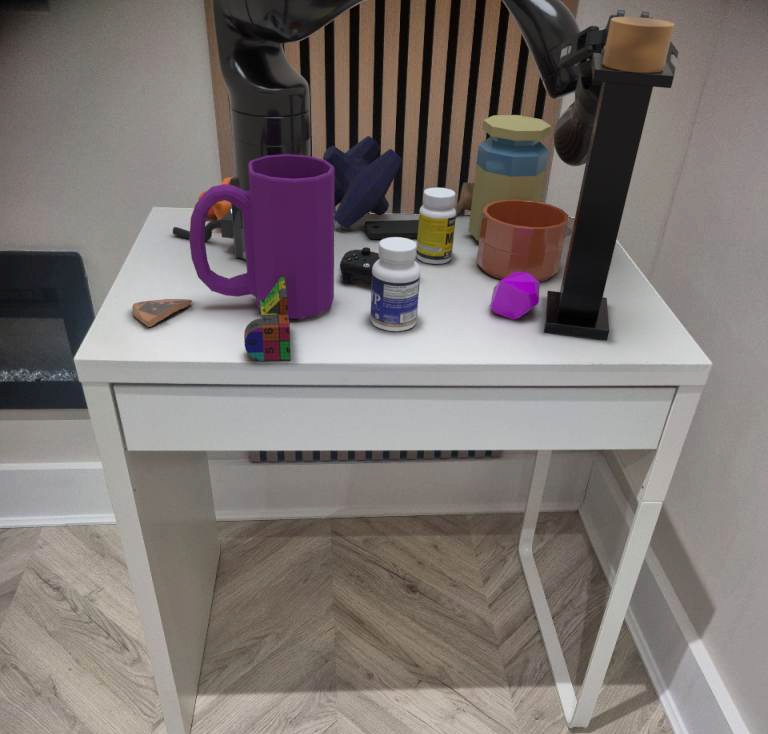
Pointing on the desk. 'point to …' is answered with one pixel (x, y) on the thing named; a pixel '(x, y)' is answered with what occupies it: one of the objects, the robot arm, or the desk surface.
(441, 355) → the desk surface
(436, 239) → the supplement bottle
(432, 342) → the desk surface
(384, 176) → the tetrapod
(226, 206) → the orange fox figurine
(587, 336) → the shelf stand
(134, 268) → the desk surface
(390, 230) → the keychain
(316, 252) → the mug
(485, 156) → the jar
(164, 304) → the pottery shard
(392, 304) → the pill bottle
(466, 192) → the brown paper bag
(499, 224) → the bowl
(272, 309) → the puzzle-patterned holder
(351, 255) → the game controller
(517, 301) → the crystal
